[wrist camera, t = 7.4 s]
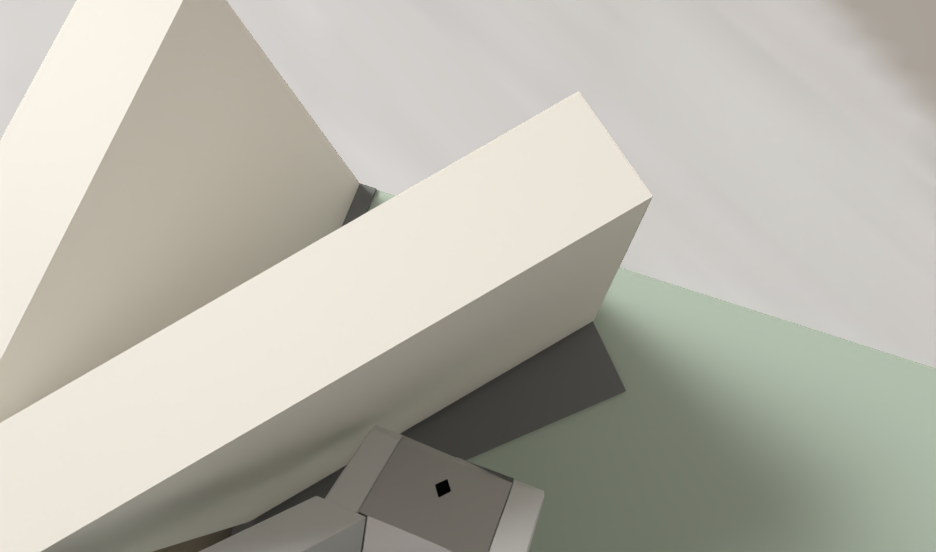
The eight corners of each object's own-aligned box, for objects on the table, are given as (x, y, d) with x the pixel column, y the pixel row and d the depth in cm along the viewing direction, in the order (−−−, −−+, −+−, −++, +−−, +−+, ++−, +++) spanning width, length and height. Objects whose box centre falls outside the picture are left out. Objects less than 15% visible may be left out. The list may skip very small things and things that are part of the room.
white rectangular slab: (249, 521, 14) (-86, 624, 7) (223, 461, 15) (-122, 492, 7) (593, 320, 15) (652, 196, 7) (559, 265, 15) (578, 90, 7)
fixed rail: (207, 596, 14) (-174, 784, 7) (119, 554, 15) (-335, 685, 7) (376, 190, 16) (229, -28, 9) (293, 163, 17) (82, -66, 9)
